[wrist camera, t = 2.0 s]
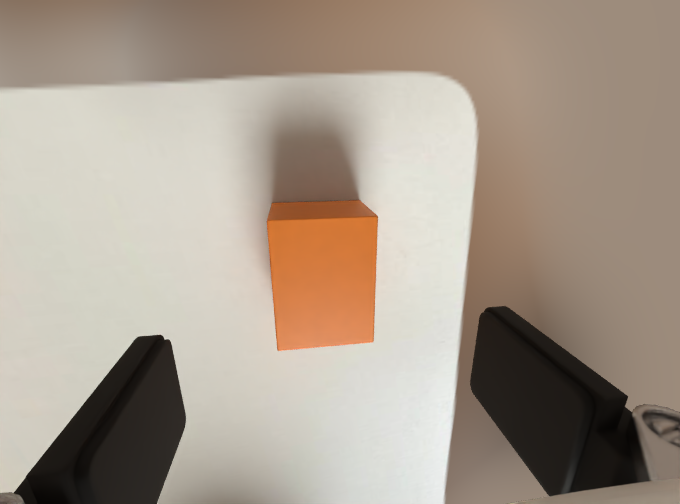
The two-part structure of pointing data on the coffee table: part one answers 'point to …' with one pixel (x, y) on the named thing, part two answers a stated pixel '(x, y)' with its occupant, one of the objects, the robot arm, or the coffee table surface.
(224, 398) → the coffee table surface
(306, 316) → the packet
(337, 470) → the coffee table surface
